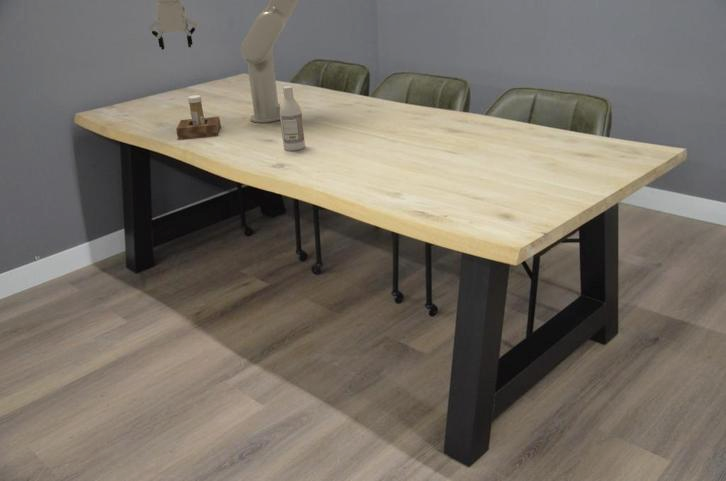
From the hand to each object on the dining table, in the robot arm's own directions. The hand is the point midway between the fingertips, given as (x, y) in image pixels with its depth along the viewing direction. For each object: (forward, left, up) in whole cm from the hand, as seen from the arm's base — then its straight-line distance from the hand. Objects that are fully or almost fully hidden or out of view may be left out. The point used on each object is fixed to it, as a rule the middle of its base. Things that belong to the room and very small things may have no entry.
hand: (176, 47), depth 263 cm
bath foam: (-40, +46, -29) cm, 67 cm away
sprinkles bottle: (-6, +16, -29) cm, 33 cm away
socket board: (-6, +16, -28) cm, 33 cm away
